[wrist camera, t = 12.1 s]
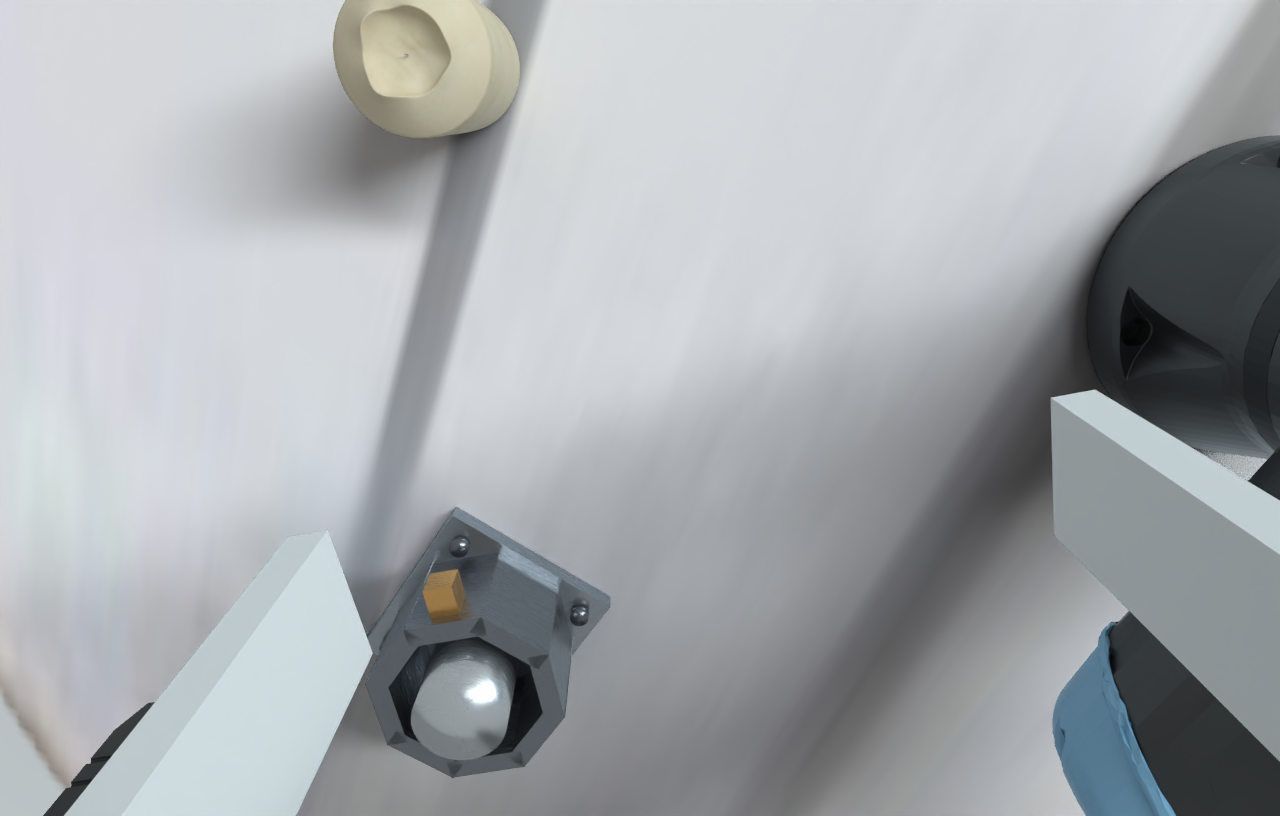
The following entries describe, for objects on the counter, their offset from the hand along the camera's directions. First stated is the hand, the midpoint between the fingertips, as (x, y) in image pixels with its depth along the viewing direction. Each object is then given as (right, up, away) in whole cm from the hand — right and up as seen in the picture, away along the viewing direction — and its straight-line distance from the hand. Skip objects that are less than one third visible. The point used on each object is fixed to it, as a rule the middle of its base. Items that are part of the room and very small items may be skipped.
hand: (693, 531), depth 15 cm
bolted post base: (-10, -10, +32) cm, 34 cm away
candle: (-9, +18, +22) cm, 30 cm away
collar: (-10, -10, +31) cm, 34 cm away
